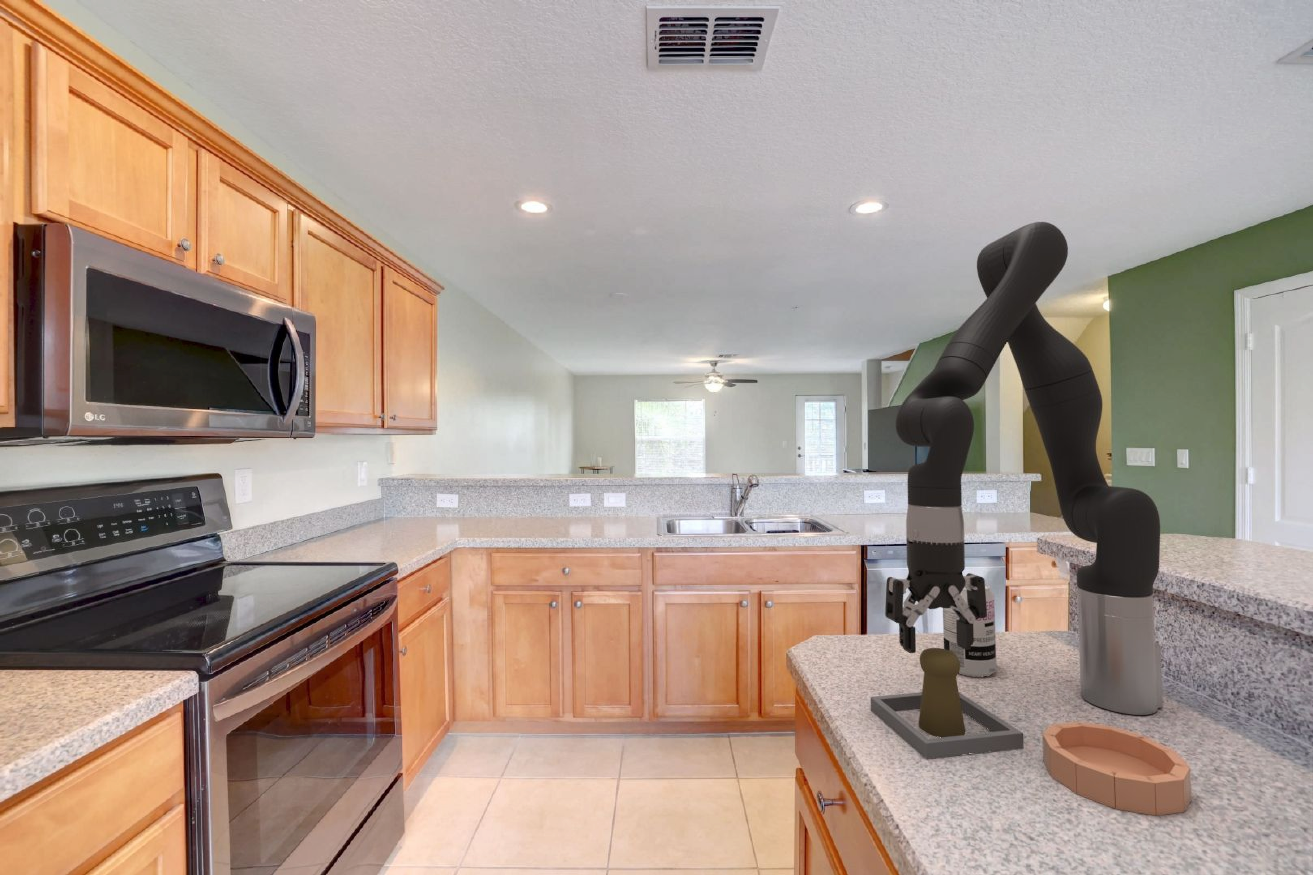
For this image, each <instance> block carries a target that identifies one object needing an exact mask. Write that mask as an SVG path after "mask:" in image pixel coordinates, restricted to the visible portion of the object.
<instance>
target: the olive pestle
mask: <svg viewBox="0 0 1313 875" xmlns="http://www.w3.org/2000/svg"><path fill="white" fill-rule="evenodd" d="M919 664H920V668H921V670H922V671H923V680H922V681H923V682H922V690H921V692H922V698H921V707H920V709H919V717H918V727H919V728H920V729H921V730H922V731H923V732H925V733H927V734H929V735H931V736H933V737H937V736H938V737H937V738H940V737H941V738H942V737H951V736H960V735H966V733H967V732H966V726H965V721H964V713H963V712H962V708H961V702H960V697H959V693H960V690H959V685H958V682H957V680H958V679H957V676H958V675H959V674H958V673H959V671H960V662H959V659H958V657H957V656H956V654H954V653H953V652H951V651H949V650H946V649H944V648H940V647H929V648H925V649H923V650H922V651H921V653H920V655H919ZM965 732H966V733H965Z"/></svg>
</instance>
